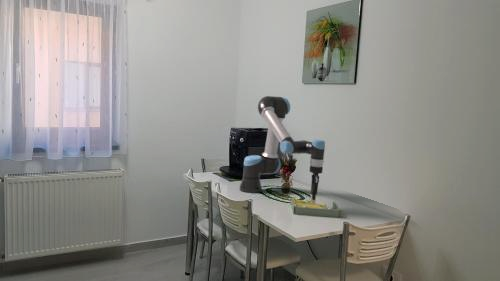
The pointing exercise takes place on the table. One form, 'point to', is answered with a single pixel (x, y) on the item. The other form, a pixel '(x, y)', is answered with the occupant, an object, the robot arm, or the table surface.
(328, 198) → the table surface
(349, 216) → the table surface
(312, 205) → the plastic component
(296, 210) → the tray
